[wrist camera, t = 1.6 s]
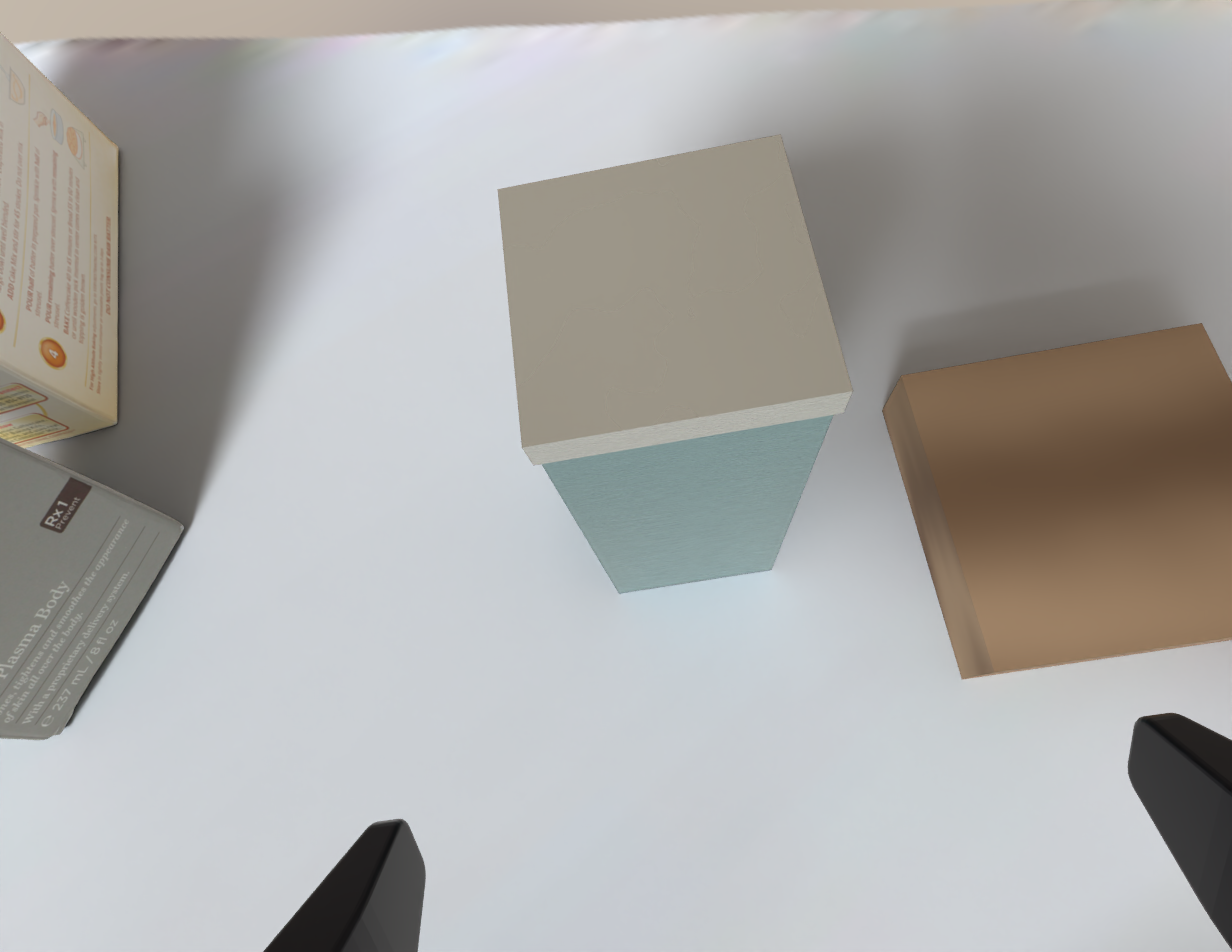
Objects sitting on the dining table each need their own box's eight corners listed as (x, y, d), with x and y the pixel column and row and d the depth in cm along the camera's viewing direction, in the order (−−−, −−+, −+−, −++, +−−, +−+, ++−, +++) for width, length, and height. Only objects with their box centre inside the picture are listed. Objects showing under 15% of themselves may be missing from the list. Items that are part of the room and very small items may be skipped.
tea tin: (774, 572, 23) (853, 391, 11) (616, 597, 23) (522, 448, 11) (743, 427, 25) (780, 134, 13) (597, 451, 25) (497, 189, 13)
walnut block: (1264, 635, 21) (1349, 619, 18) (957, 680, 22) (994, 672, 19) (1144, 370, 24) (1202, 323, 22) (879, 416, 25) (901, 375, 22)
